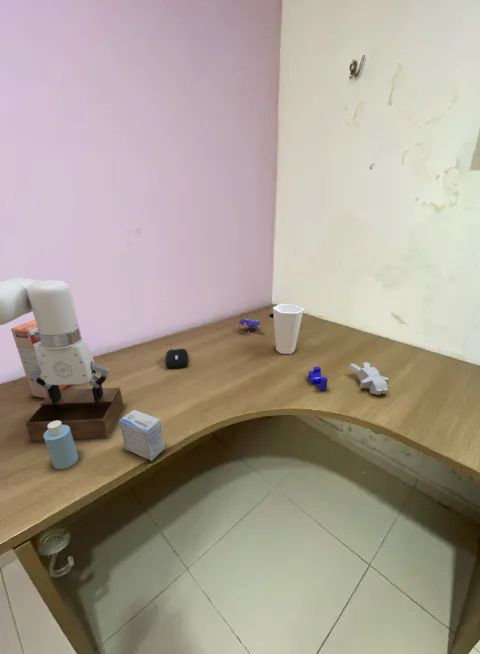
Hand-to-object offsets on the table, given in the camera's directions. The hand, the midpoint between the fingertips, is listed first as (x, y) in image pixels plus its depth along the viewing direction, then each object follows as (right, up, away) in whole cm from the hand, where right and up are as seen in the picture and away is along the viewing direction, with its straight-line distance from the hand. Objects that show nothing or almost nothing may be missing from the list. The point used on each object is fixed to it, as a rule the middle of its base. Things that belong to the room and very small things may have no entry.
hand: (78, 399), depth 77 cm
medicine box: (+19, -10, -6) cm, 23 cm away
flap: (0, +1, +2) cm, 2 cm away
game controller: (+39, +19, +60) cm, 74 cm away
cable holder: (+63, +1, +22) cm, 67 cm away
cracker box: (-15, +1, +16) cm, 22 cm away
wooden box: (0, -6, +1) cm, 6 cm away
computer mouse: (+15, +8, +33) cm, 37 cm away
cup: (+54, +11, +44) cm, 70 cm away
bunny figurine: (+80, +1, +24) cm, 83 cm away
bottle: (+4, -11, -10) cm, 16 cm away
